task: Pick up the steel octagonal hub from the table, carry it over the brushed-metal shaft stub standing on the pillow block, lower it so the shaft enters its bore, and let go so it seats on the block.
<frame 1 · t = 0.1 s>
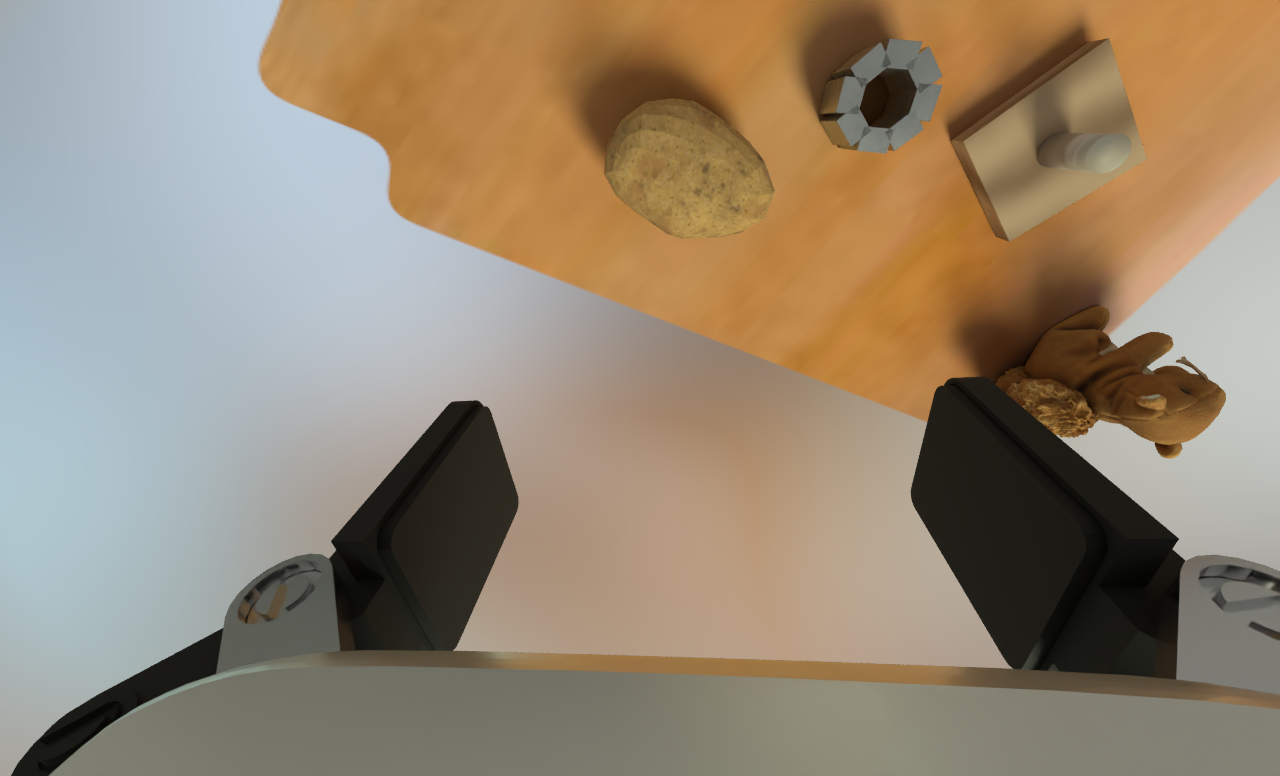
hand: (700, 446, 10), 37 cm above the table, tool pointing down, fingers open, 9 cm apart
hub: (864, 102, 37), on the table
shaft stand: (1037, 149, 37), on the table
stuffed squirrel: (1043, 365, 47), on the table
potato: (690, 171, 41), on the table
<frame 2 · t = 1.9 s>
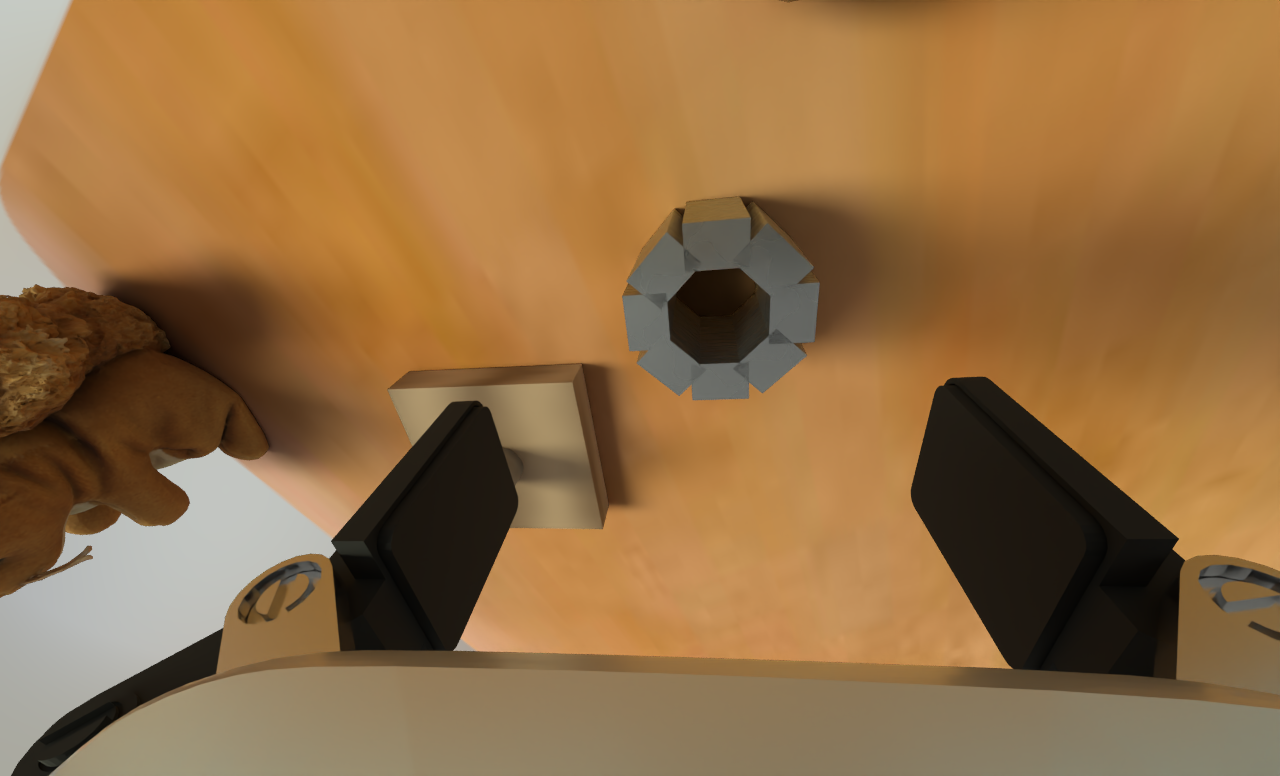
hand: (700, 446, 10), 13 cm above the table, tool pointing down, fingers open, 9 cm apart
hub: (714, 278, 21), on the table
shaft stand: (514, 442, 27), on the table
stuffed squirrel: (172, 370, 28), on the table
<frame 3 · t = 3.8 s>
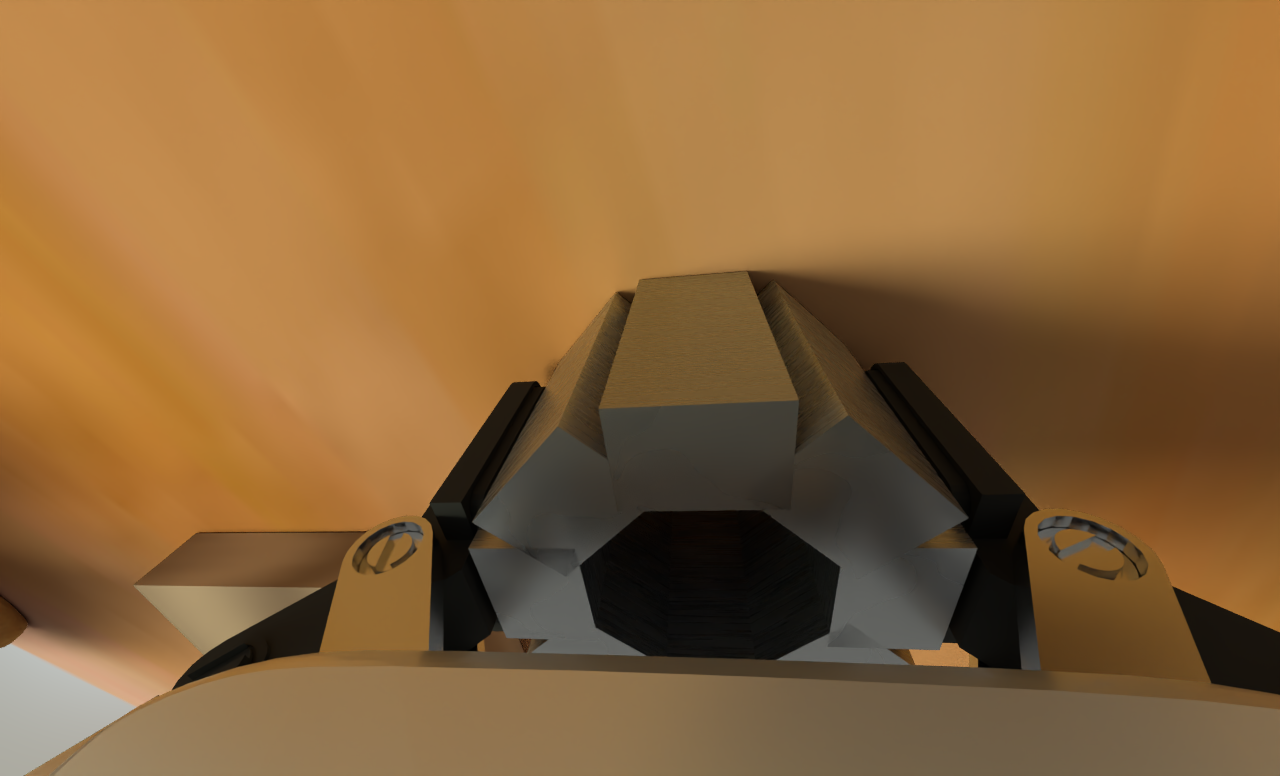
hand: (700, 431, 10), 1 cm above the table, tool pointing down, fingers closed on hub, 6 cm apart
hub: (699, 413, 11), on the table, touching gripper
shaft stand: (388, 626, 17), on the table
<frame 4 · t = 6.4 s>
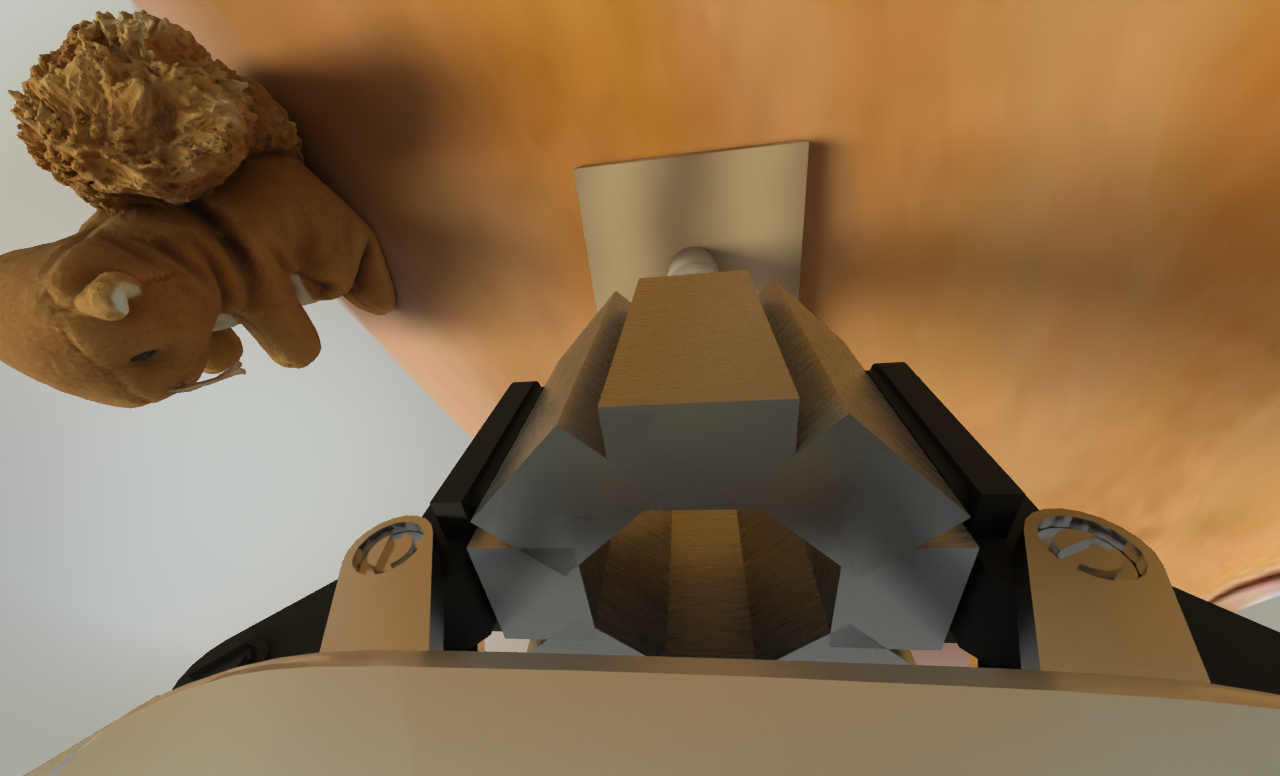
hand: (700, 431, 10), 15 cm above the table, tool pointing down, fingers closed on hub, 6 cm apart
hub: (699, 412, 11), point 14 cm above the table, touching gripper
shaft stand: (692, 261, 23), on the table
stuffed squirrel: (296, 202, 24), on the table
when the fingers open (5 cm above the table, at t = 9.1 s): hub drops 2 cm, resting on shaft stand.
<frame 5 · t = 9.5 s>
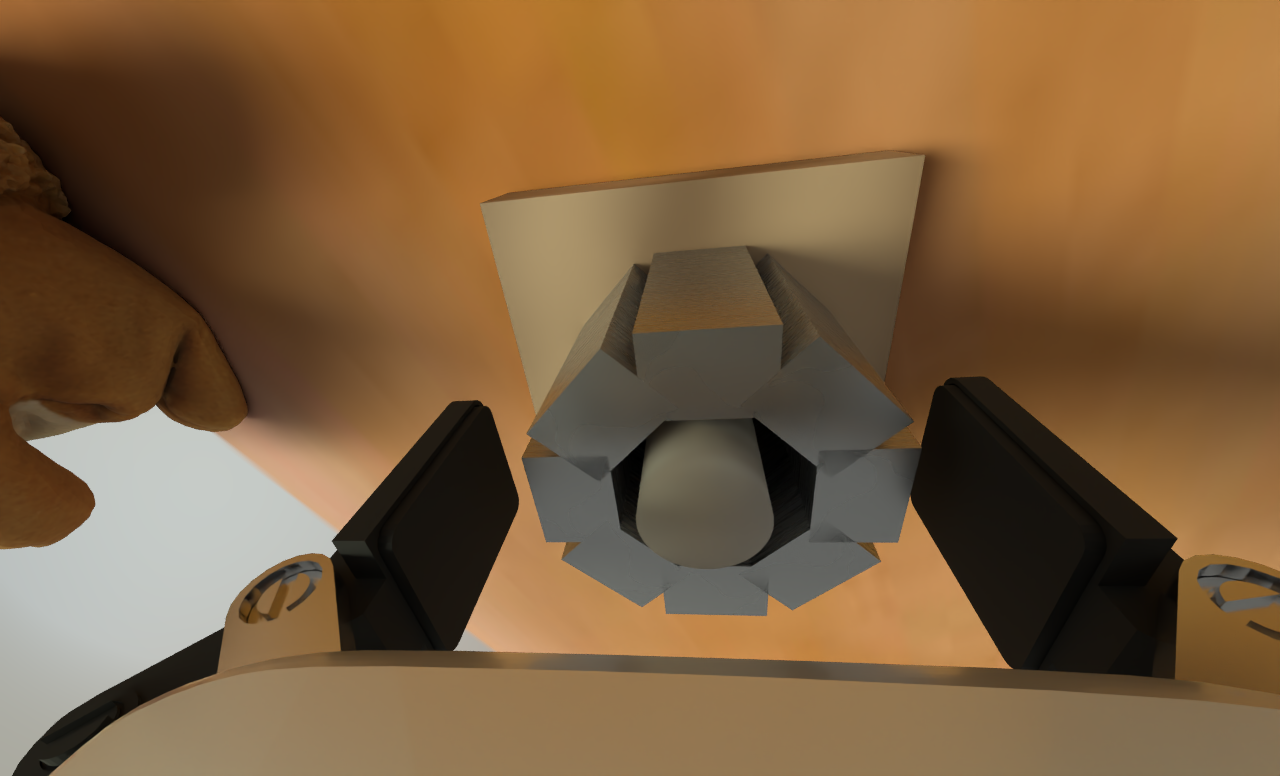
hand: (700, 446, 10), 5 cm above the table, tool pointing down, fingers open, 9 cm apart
hub: (703, 372, 13), point 2 cm above the table, touching shaft stand
shaft stand: (696, 345, 14), on the table
stuffed squirrel: (76, 263, 15), on the table
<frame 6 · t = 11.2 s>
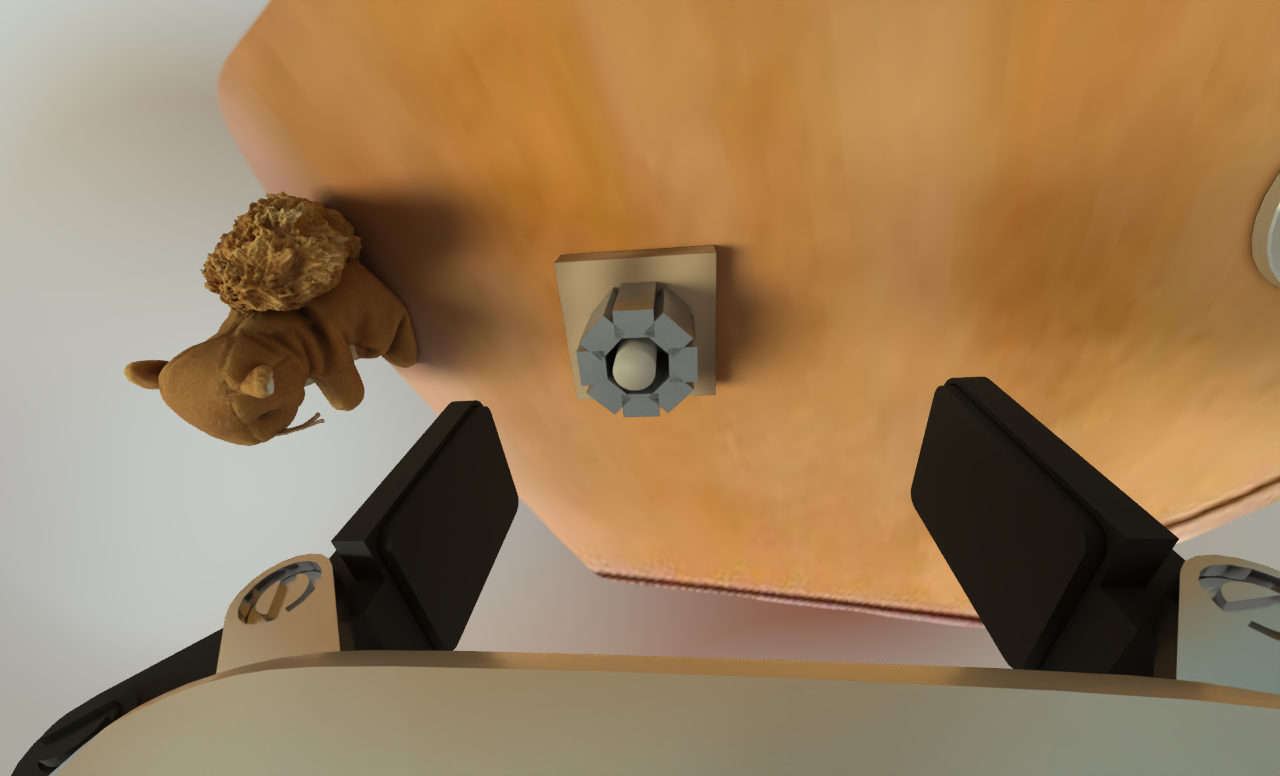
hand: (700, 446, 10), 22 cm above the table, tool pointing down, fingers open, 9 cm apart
hub: (642, 332, 30), point 2 cm above the table, touching shaft stand
shaft stand: (641, 322, 32), on the table
stuffed squirrel: (348, 282, 32), on the table
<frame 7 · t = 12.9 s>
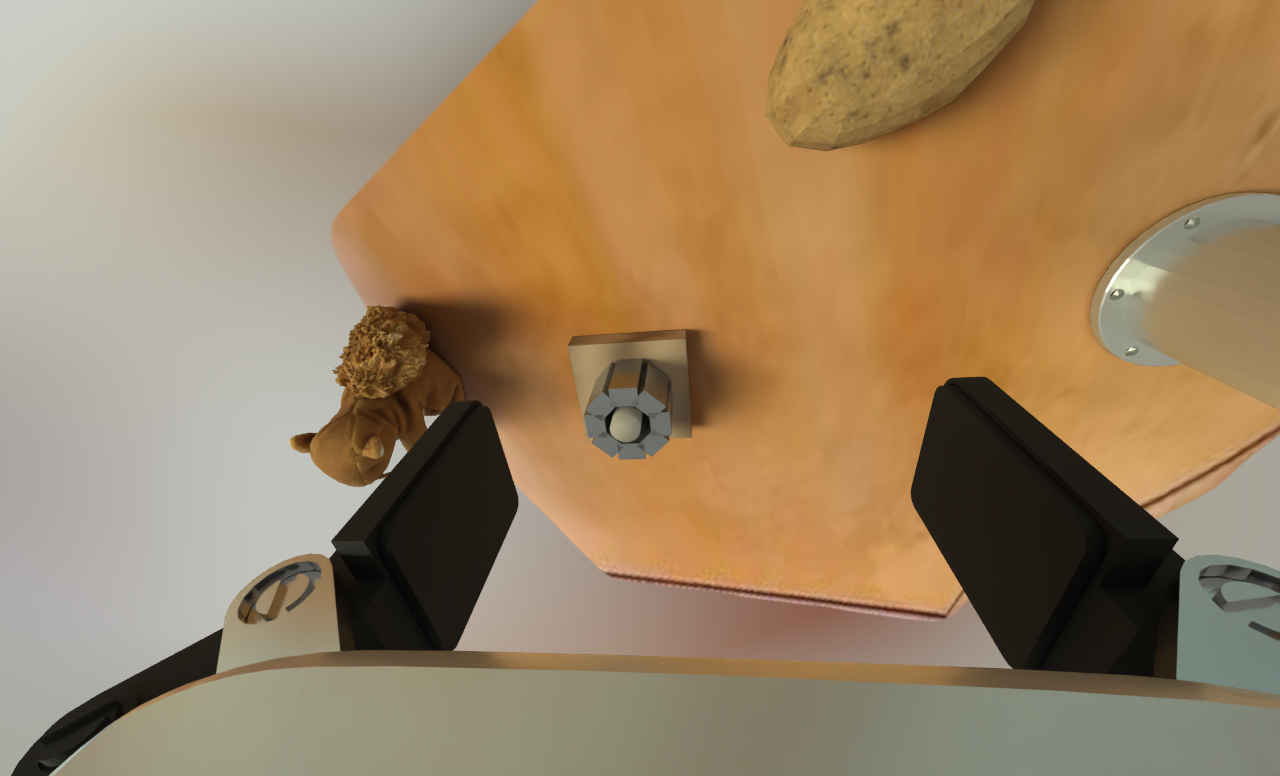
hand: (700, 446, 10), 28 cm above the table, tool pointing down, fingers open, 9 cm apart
hub: (634, 393, 40), point 2 cm above the table, touching shaft stand
shaft stand: (634, 382, 42), on the table
stuffed squirrel: (417, 358, 43), on the table
potato: (859, 51, 29), on the table
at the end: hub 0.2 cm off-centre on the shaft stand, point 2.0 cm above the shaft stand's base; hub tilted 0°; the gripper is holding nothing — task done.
